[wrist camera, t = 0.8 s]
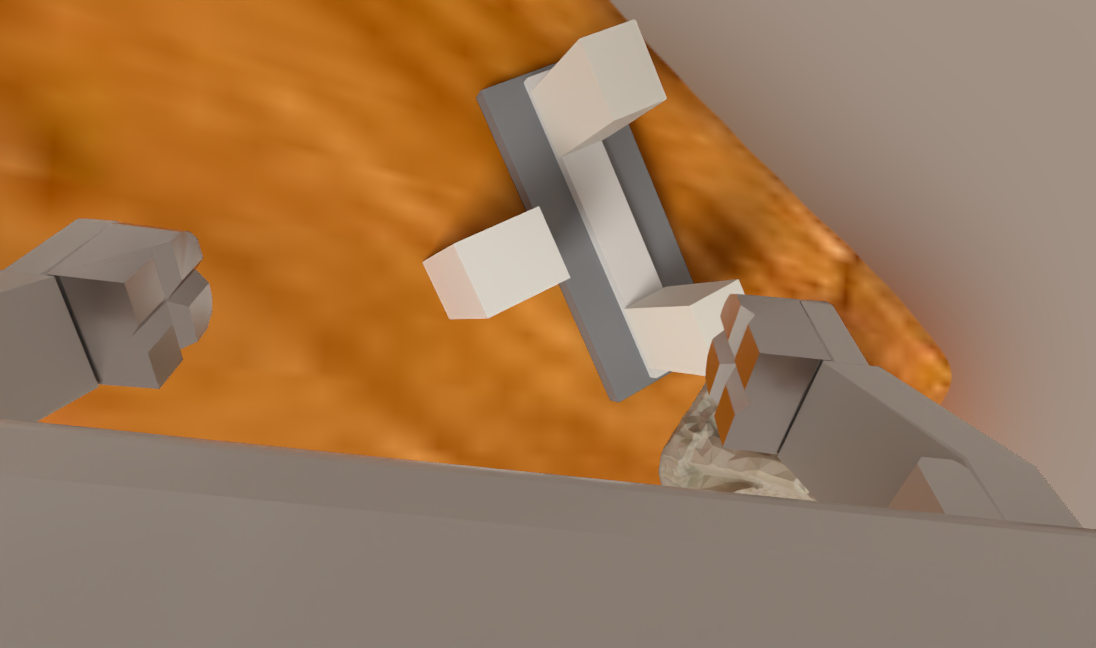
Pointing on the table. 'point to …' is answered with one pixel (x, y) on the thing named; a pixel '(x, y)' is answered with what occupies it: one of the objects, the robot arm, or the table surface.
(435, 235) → the table surface
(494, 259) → the block
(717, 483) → the stone castle model
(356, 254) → the table surface
